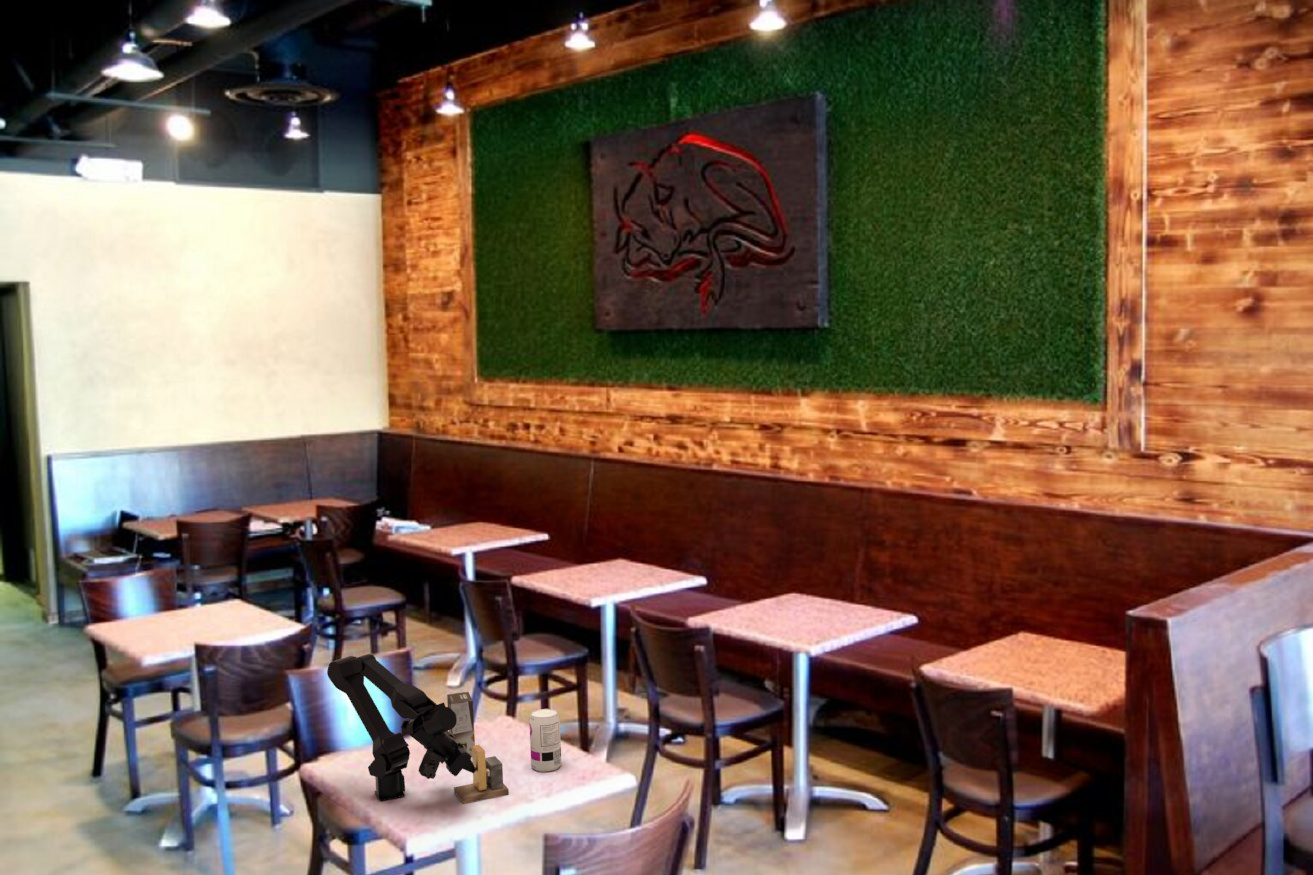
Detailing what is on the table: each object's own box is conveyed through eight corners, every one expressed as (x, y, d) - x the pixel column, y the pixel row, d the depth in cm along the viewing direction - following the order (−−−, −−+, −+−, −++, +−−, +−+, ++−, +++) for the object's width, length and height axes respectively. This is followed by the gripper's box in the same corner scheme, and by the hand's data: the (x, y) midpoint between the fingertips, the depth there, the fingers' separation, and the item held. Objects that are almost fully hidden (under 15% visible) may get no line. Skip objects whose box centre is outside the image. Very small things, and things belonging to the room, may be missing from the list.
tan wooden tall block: (479, 790, 302) (477, 752, 301) (473, 783, 307) (471, 745, 306) (502, 785, 305) (501, 747, 304) (496, 779, 310) (495, 741, 309)
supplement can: (527, 771, 319) (524, 717, 318) (537, 760, 327) (535, 707, 326) (555, 773, 317) (553, 718, 316) (565, 762, 325) (563, 708, 324)
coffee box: (476, 756, 332) (473, 700, 330) (453, 759, 330) (450, 703, 328) (471, 745, 340) (468, 691, 339) (448, 748, 338) (446, 693, 337)
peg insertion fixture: (462, 803, 299) (461, 772, 298) (454, 792, 306) (452, 762, 306) (508, 794, 304) (507, 763, 304) (498, 783, 312) (497, 754, 311)
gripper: (400, 750, 305) (444, 784, 310) (417, 774, 288) (463, 810, 294) (429, 715, 307) (472, 749, 313) (448, 737, 290) (493, 773, 296)
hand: (474, 771), depth 304 cm, fingers closed
